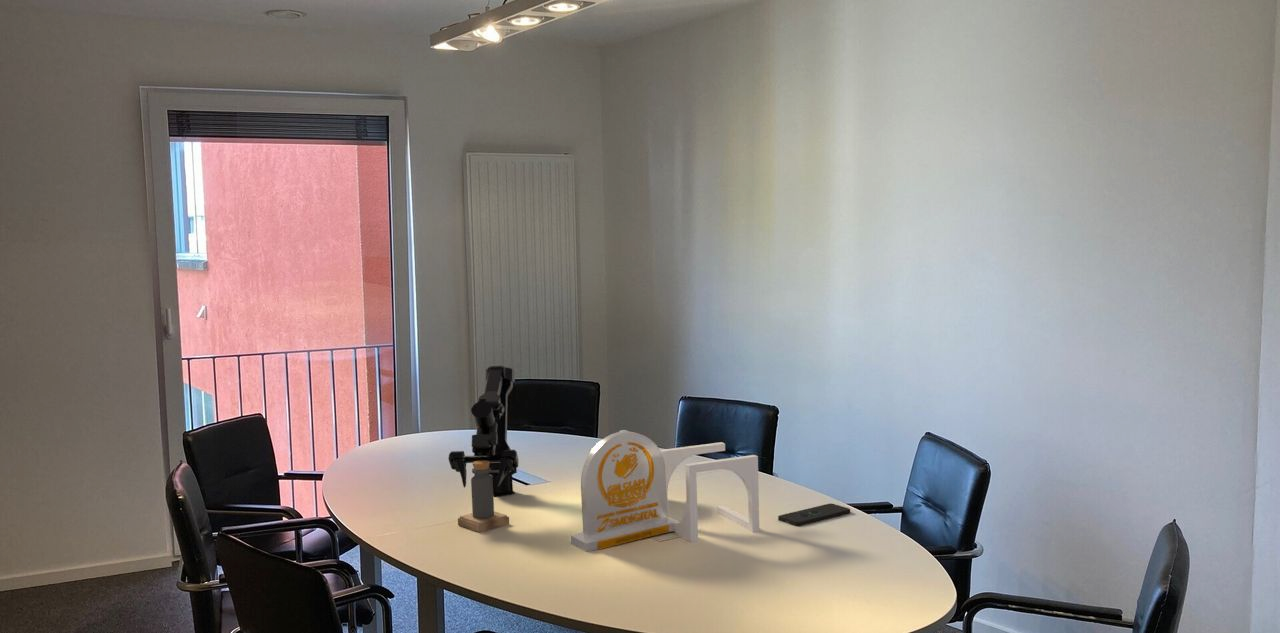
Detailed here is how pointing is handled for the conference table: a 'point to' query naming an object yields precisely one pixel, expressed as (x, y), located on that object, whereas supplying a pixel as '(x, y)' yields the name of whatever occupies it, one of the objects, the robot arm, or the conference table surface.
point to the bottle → (482, 490)
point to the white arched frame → (739, 465)
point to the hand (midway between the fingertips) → (481, 486)
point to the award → (623, 492)
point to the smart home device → (814, 514)
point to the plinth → (483, 522)
